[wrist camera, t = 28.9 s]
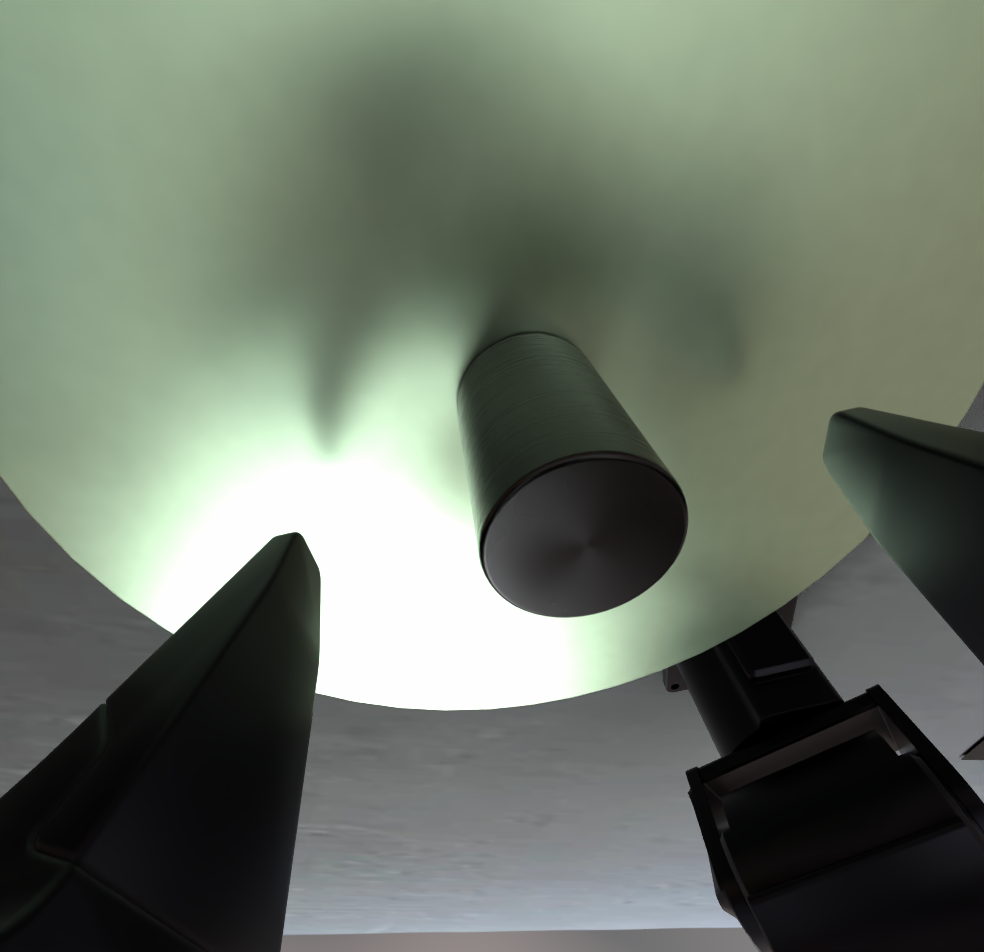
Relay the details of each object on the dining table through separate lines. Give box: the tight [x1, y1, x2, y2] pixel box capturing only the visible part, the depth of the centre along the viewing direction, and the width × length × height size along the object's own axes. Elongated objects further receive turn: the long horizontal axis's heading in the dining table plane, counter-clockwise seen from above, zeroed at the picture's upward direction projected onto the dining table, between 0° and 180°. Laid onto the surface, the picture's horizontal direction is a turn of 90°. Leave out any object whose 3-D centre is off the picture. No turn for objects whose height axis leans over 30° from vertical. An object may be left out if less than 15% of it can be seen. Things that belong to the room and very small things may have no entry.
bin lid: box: [0, 0, 984, 710], centre depth 9 cm, size 19×19×5 cm
